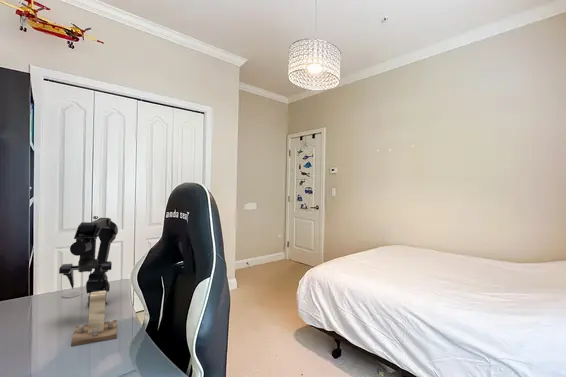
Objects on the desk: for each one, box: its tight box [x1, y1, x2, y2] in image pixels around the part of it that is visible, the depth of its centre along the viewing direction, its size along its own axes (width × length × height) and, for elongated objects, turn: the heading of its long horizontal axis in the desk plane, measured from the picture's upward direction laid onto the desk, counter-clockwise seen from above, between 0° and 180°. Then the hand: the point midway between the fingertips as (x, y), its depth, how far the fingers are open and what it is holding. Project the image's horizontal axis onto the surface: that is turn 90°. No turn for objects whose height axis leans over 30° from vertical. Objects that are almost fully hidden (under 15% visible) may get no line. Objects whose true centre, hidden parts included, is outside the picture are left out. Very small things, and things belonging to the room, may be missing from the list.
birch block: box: [87, 291, 107, 334], centre depth 113 cm, size 5×5×14 cm
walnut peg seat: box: [70, 319, 118, 347], centre depth 113 cm, size 14×14×4 cm
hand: (85, 287), depth 128 cm, fingers open, 9 cm apart
